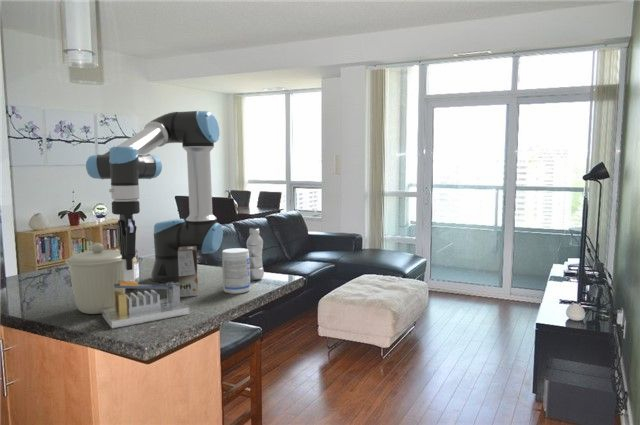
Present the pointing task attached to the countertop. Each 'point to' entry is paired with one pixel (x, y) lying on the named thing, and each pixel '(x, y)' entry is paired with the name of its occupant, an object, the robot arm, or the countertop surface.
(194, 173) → the robot arm
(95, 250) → the canister
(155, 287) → the strap
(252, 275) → the plastic bottle
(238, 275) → the supplement tub
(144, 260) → the countertop surface
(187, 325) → the countertop surface
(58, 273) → the countertop surface
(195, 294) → the coffee box
